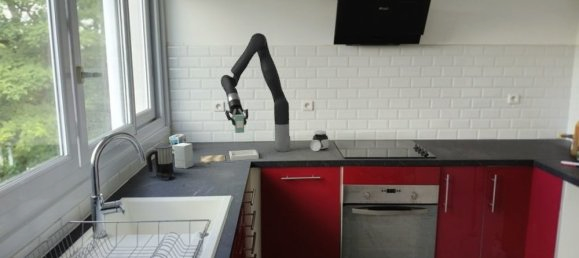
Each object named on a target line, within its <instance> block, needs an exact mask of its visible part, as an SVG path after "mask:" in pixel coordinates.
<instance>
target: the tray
mask: <svg viewBox="0 0 579 258" xmlns="http://www.w3.org/2000/svg"><path fill="white" fill-rule="evenodd" d="M228 152H229V158H230V161H231V162H233V161H243V160H246V161H247V160H259V156H260V155H259V153H258V151H257V150H256V149H247V150H246V149H244V150H229V151H228Z"/></svg>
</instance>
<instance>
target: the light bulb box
mask: <svg viewBox="0 0 579 258" xmlns="http://www.w3.org/2000/svg"><path fill="white" fill-rule="evenodd" d="M168 141H169V145H172V155H173V154H174V145H177V144H180V143H187V135H186V134H184V133H183V134H182V133H176V134H173V135H171V136H169V137H168Z"/></svg>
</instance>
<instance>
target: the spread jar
mask: <svg viewBox="0 0 579 258" xmlns="http://www.w3.org/2000/svg"><path fill="white" fill-rule="evenodd" d="M314 133H315V134H314V135H313V137H312V141H311V142H310V147H309V148H310V149H311V151H312V152H319V151H325V150H327V149H328V148H329V145H330V144H329V137H328V135H327V131H326V130H315V132H314Z"/></svg>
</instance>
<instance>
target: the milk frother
mask: <svg viewBox="0 0 579 258" xmlns="http://www.w3.org/2000/svg"><path fill="white" fill-rule="evenodd" d="M153 148H154V149H153V150H151V149H150V150H149V151H148V152H147V153H146V156H145V160H146V167H147V171H148V172H149V173H152V172H154V171H153V162H152V161H153V160H152V156H153V155H154V165H155V166H154V168H155V175H156V176H160V177H165V178H168V179H172V178H175V175H174V173H175V169H174V162H173V161H174V160H173V159H174V158H173V154H172V145H170V144H159V145H155V146H154V147H153Z"/></svg>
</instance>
